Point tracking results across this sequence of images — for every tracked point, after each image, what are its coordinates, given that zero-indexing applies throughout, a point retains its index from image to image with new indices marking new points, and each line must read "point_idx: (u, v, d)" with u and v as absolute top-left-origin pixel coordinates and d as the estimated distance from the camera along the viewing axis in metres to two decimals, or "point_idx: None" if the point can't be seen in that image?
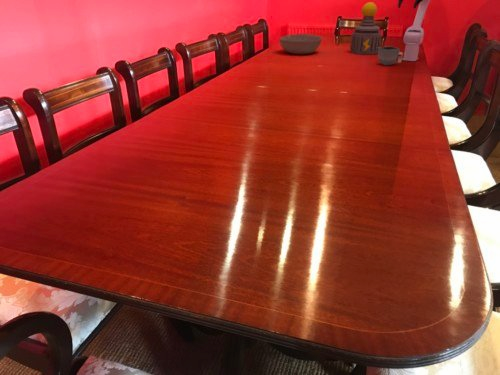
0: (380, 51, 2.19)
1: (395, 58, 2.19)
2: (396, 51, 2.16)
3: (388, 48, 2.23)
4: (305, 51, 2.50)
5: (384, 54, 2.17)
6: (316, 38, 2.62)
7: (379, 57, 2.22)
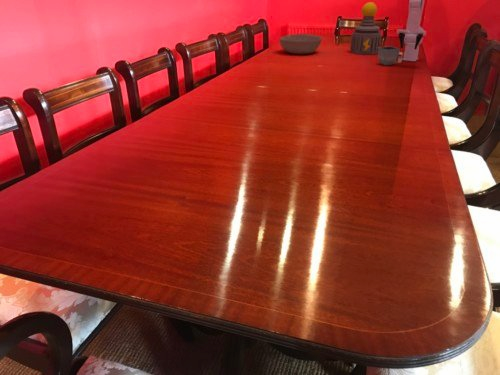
0: (380, 51, 2.19)
1: (395, 58, 2.19)
2: (396, 51, 2.16)
3: (388, 48, 2.23)
4: (305, 51, 2.50)
5: (384, 54, 2.17)
6: (316, 38, 2.62)
7: (379, 57, 2.22)
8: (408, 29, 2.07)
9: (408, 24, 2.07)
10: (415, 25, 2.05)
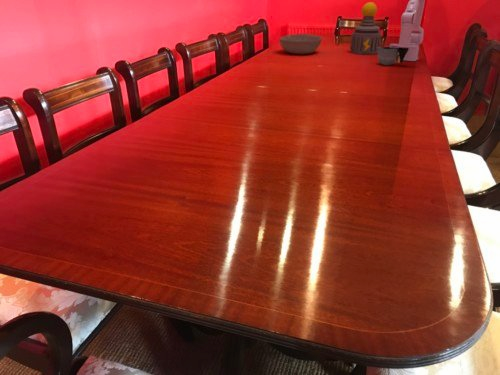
0: (380, 51, 2.20)
1: (394, 58, 2.19)
2: (395, 51, 2.16)
3: (387, 48, 2.23)
4: (305, 51, 2.50)
5: (383, 54, 2.17)
6: (316, 38, 2.62)
7: (378, 57, 2.22)
8: (401, 44, 2.12)
9: (401, 39, 2.11)
10: (407, 40, 2.10)
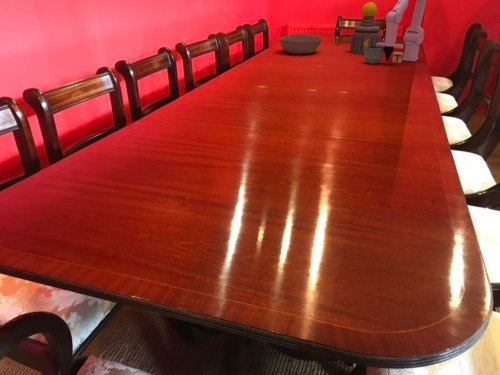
0: (366, 50, 2.23)
1: (380, 57, 2.22)
2: (381, 50, 2.20)
3: (373, 47, 2.27)
4: (305, 51, 2.50)
5: (370, 53, 2.20)
6: (316, 38, 2.62)
7: (365, 56, 2.26)
8: (386, 42, 2.16)
9: (386, 38, 2.15)
10: (393, 39, 2.14)
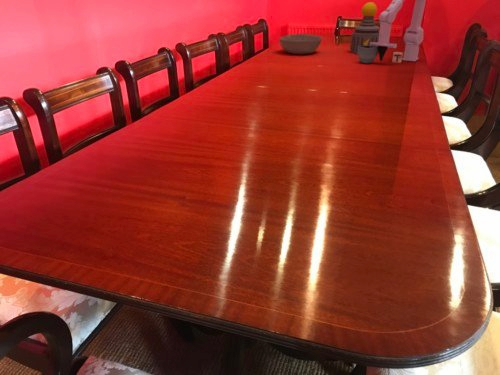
0: (360, 50, 2.24)
1: (374, 56, 2.24)
2: (375, 49, 2.22)
3: (367, 47, 2.28)
4: (305, 51, 2.50)
5: (364, 52, 2.22)
6: (316, 38, 2.62)
7: (359, 56, 2.27)
8: (380, 42, 2.18)
9: (380, 37, 2.17)
10: (386, 38, 2.16)
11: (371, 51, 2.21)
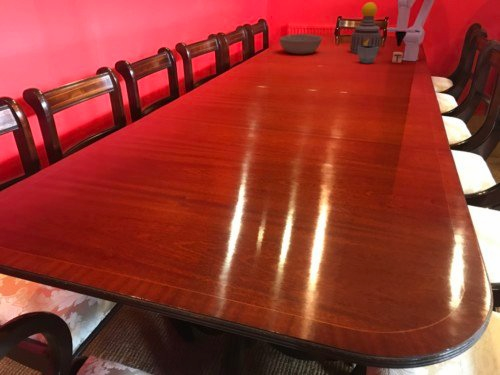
0: (360, 50, 2.24)
1: (374, 56, 2.24)
2: (375, 49, 2.22)
3: (367, 47, 2.28)
4: (305, 51, 2.50)
5: (364, 53, 2.22)
6: (316, 38, 2.62)
7: (359, 56, 2.27)
8: (398, 27, 2.16)
9: (398, 22, 2.15)
10: (405, 23, 2.13)
11: (371, 51, 2.21)
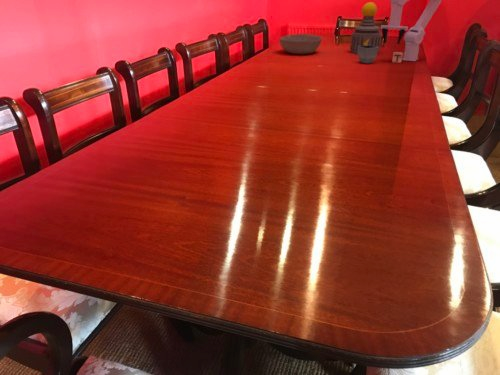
0: (360, 50, 2.24)
1: (374, 56, 2.24)
2: (375, 49, 2.22)
3: (367, 47, 2.28)
4: (305, 51, 2.50)
5: (364, 53, 2.22)
6: (316, 38, 2.62)
7: (359, 56, 2.27)
8: (391, 25, 2.19)
9: (391, 20, 2.18)
10: (397, 21, 2.17)
11: (371, 51, 2.21)
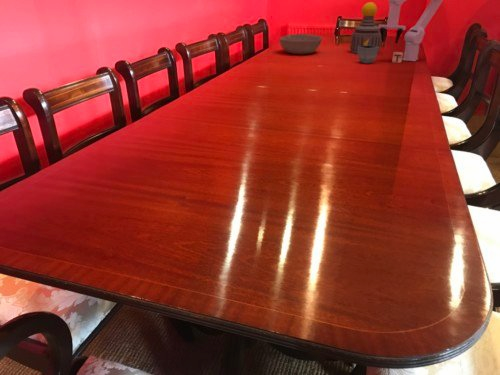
0: (360, 50, 2.24)
1: (374, 56, 2.24)
2: (375, 49, 2.22)
3: (367, 47, 2.28)
4: (305, 51, 2.50)
5: (364, 53, 2.22)
6: (316, 38, 2.62)
7: (359, 56, 2.27)
8: (389, 24, 2.20)
9: (389, 19, 2.20)
10: (395, 20, 2.18)
11: (371, 51, 2.21)
